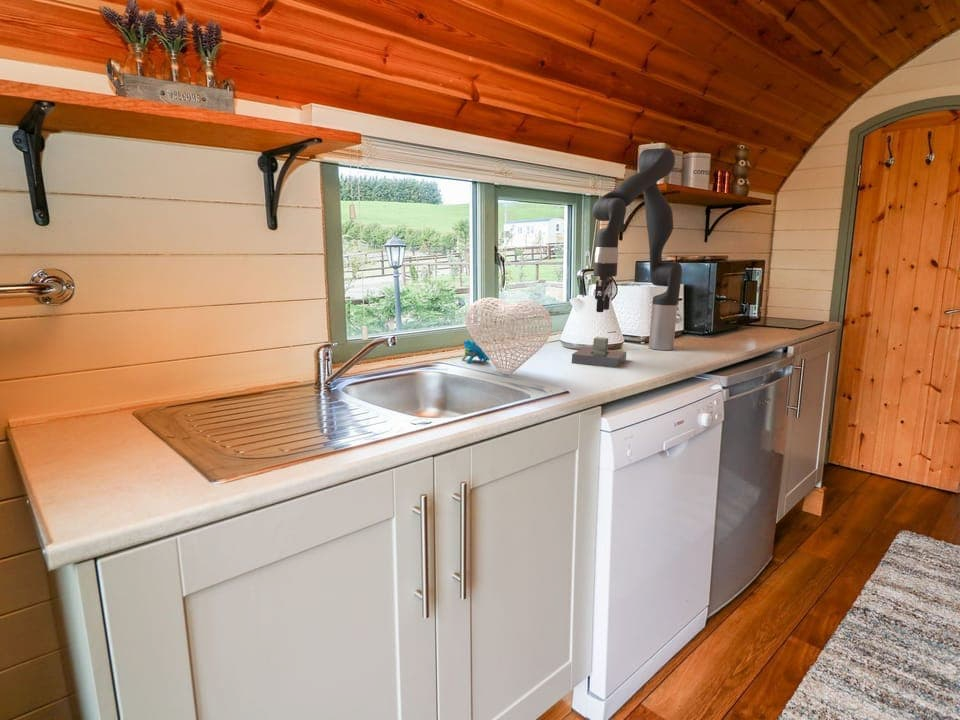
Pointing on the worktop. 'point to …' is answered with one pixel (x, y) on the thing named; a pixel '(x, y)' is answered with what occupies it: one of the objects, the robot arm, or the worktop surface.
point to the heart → (508, 330)
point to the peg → (600, 345)
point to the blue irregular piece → (474, 351)
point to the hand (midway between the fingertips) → (602, 310)
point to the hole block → (599, 358)
